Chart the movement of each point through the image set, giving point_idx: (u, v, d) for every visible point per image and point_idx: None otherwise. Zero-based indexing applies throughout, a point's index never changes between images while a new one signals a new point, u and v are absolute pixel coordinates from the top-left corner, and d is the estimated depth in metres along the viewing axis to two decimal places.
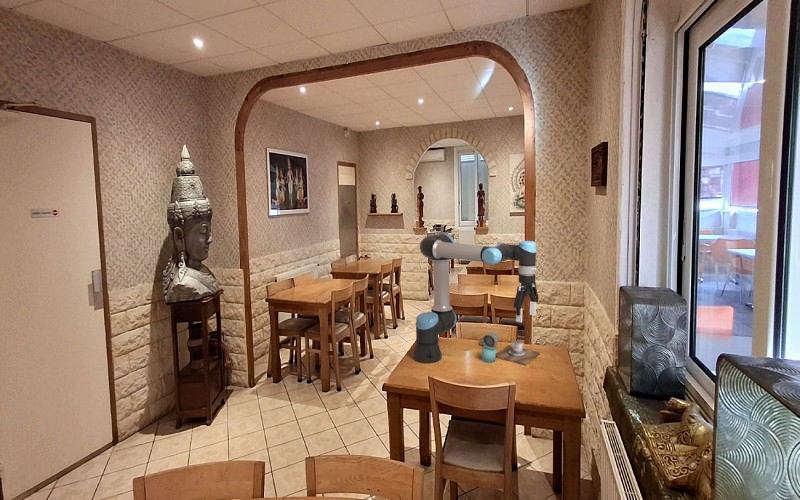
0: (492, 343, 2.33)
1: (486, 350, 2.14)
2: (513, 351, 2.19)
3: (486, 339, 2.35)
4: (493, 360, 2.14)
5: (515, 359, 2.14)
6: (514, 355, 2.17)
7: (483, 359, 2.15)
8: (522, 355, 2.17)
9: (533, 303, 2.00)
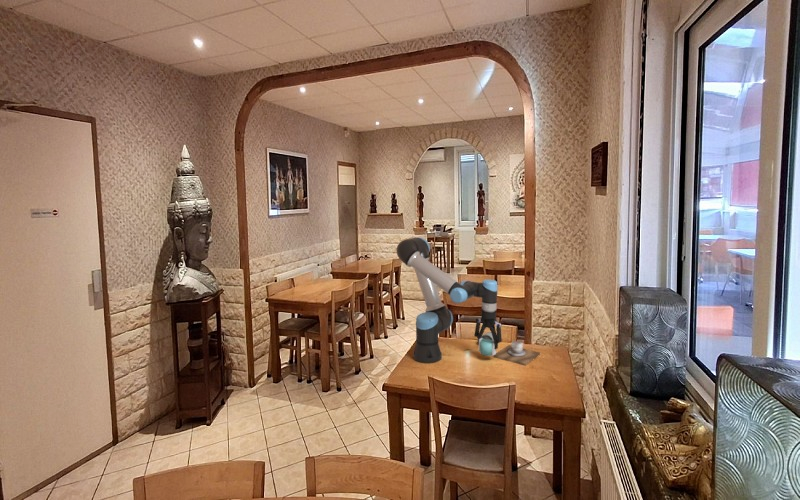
0: None
1: (485, 343, 2.14)
2: (513, 351, 2.19)
3: None
4: None
5: (515, 359, 2.14)
6: (514, 355, 2.17)
7: (482, 352, 2.15)
8: (522, 355, 2.17)
9: None
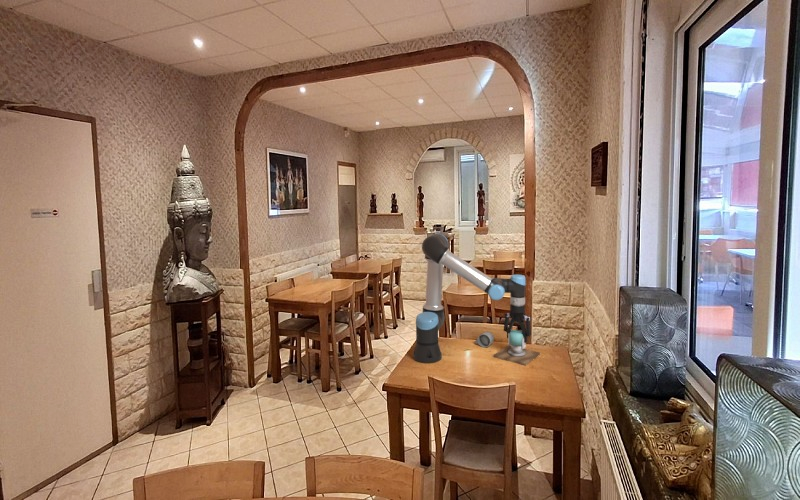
0: (487, 342, 2.34)
1: (515, 333, 2.18)
2: (513, 351, 2.19)
3: (481, 338, 2.36)
4: None
5: (515, 359, 2.14)
6: (514, 355, 2.17)
7: (512, 342, 2.18)
8: (522, 355, 2.17)
9: None
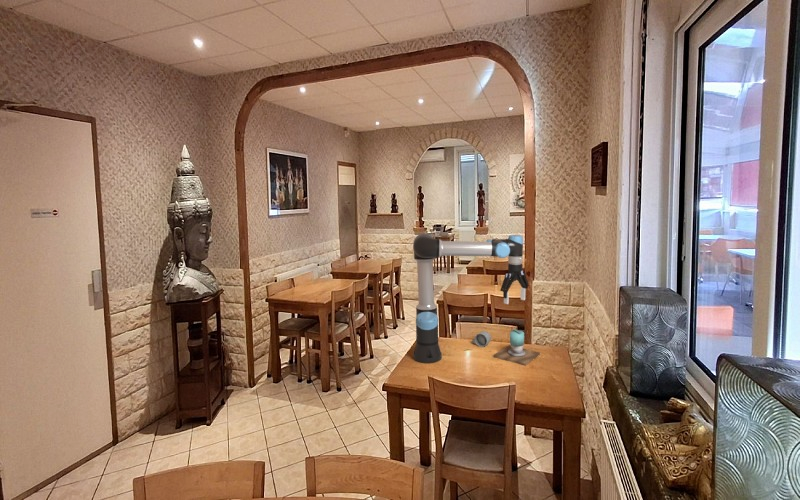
0: (484, 342, 2.35)
1: (520, 331, 2.20)
2: (513, 351, 2.19)
3: (478, 338, 2.37)
4: None
5: (515, 359, 2.14)
6: (514, 355, 2.17)
7: None
8: (522, 355, 2.17)
9: (523, 289, 2.31)
